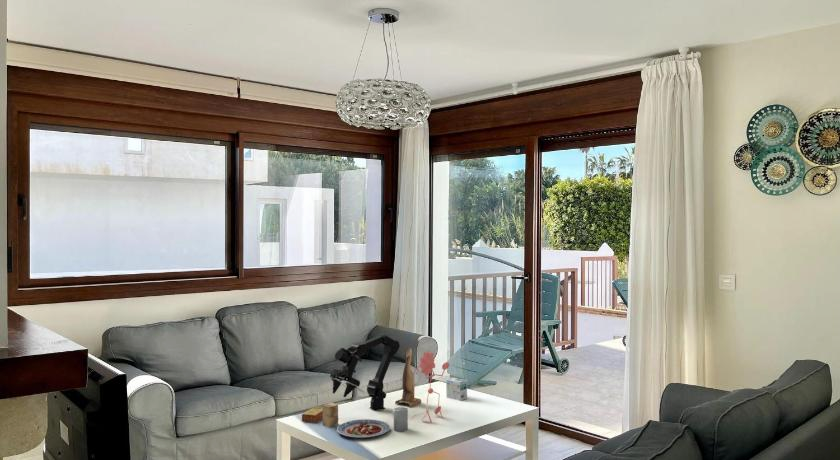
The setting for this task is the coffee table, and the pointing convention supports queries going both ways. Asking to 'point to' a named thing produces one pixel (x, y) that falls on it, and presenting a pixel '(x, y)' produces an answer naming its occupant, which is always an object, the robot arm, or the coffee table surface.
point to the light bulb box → (456, 389)
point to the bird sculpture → (408, 383)
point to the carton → (313, 414)
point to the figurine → (427, 366)
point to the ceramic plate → (363, 428)
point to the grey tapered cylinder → (400, 419)
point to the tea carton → (330, 414)
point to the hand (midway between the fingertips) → (338, 395)
